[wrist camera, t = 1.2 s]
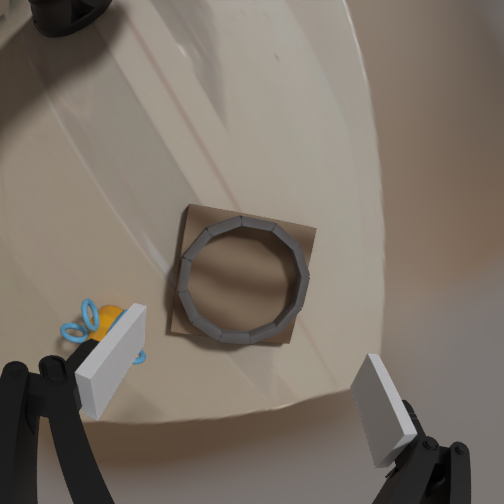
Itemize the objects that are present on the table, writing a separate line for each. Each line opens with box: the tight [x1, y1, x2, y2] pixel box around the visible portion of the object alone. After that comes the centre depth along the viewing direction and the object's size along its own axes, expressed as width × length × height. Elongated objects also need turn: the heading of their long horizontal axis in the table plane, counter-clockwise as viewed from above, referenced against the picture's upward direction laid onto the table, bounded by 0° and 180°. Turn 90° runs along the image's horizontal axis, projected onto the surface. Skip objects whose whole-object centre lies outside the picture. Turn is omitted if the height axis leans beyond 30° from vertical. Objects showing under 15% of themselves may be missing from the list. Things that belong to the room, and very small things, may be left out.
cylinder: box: [60, 299, 146, 364], centre depth 32 cm, size 12×10×15 cm
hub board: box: [171, 204, 317, 345], centre depth 41 cm, size 18×18×4 cm
